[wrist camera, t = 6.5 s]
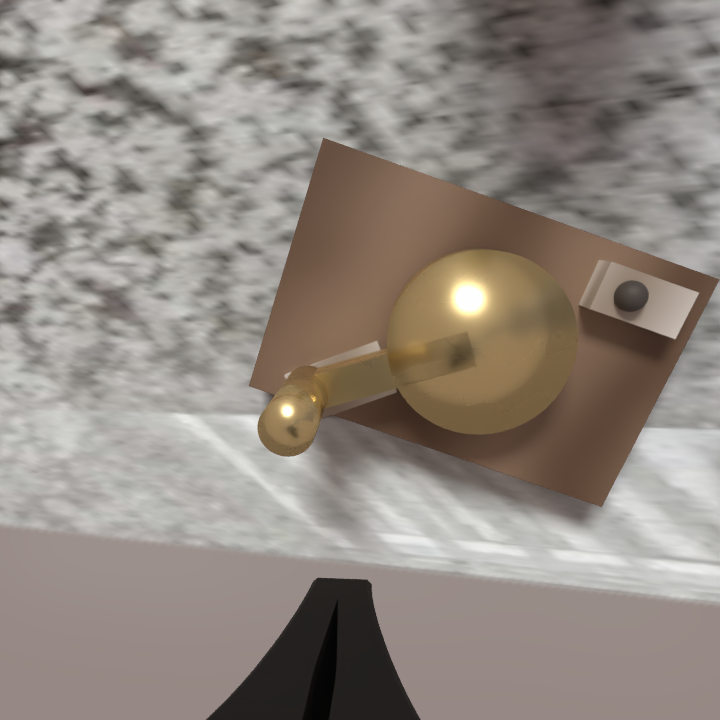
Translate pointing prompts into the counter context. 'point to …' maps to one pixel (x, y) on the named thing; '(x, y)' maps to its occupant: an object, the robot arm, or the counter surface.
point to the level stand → (478, 231)
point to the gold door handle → (448, 353)
